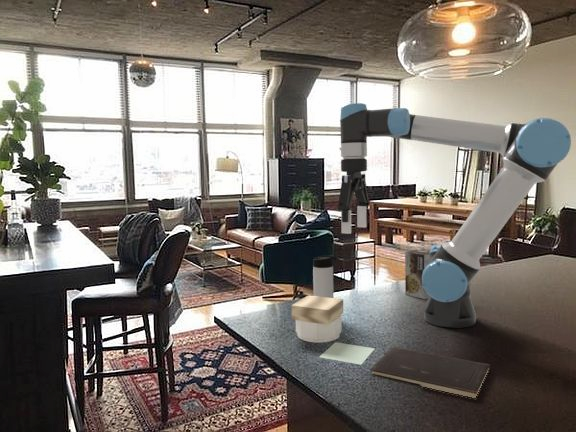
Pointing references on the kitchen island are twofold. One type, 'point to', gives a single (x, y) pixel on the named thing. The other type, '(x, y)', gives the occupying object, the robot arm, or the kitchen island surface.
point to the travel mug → (323, 276)
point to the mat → (347, 353)
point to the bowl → (318, 331)
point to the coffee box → (415, 272)
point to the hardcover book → (433, 371)
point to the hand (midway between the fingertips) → (354, 230)
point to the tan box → (317, 309)
